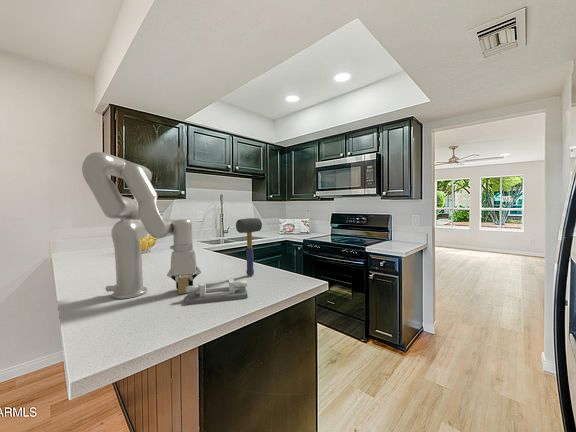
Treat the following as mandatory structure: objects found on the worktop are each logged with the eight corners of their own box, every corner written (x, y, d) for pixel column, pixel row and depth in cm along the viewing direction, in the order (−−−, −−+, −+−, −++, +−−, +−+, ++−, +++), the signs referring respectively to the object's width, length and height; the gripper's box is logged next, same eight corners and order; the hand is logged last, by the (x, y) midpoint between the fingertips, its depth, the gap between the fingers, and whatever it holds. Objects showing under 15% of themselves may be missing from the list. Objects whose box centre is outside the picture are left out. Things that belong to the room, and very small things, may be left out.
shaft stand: (184, 304, 95) (184, 289, 95) (188, 295, 105) (187, 281, 105) (248, 297, 101) (248, 283, 101) (246, 289, 111) (245, 276, 111)
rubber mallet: (243, 279, 126) (242, 219, 125) (236, 276, 132) (234, 218, 131) (264, 274, 134) (262, 217, 133) (256, 272, 140) (254, 217, 139)
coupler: (188, 292, 107) (188, 278, 107) (178, 294, 106) (177, 279, 106) (190, 287, 115) (190, 274, 115) (181, 288, 114) (180, 275, 114)
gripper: (160, 250, 105) (162, 294, 105) (203, 248, 109) (204, 290, 110) (164, 247, 112) (165, 289, 113) (204, 245, 116) (205, 285, 117)
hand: (184, 289), depth 111 cm, fingers closed on coupler, 3 cm apart
